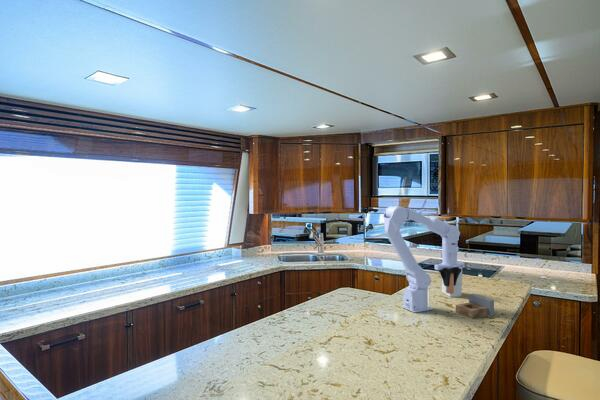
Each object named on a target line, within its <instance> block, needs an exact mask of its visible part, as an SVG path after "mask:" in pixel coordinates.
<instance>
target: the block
mask: <svg viewBox="0 0 600 400" xmlns="http://www.w3.org/2000/svg"><path fill="white" fill-rule="evenodd" d="M455 313H457V314H458V315H462V316H464V317H467V318H470V319H477V318H482V317H489V316H488V308H486V307H483V306H480V305H477V304H474V303H471V302H470V303H469V302H466V303H465V302H464V303H459V304H455Z"/></svg>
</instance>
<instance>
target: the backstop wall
mask: <svg viewBox="0 0 600 400" xmlns="http://www.w3.org/2000/svg"><path fill="white" fill-rule="evenodd" d="M470 302H471V303H474V304H477V305H480V306H483V307H486V308H488V316H487V317H494V316H495V301H494V299H491V298H488V297H485V296H481V295H477V294H476V293H470V294H468V303H470Z"/></svg>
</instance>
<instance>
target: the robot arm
mask: <svg viewBox="0 0 600 400" xmlns="http://www.w3.org/2000/svg"><path fill="white" fill-rule="evenodd" d="M382 218H383V224H384V233H385V235H386V237H387V238H388V241H389V242H390V244H391V246H392V247H393V249H394V251H395V252H396V254H397V256H398V258H399V259H400V262H401V263H402V265H403V267H404V273H405V275H406V277H405V278H406V280H407V281H408V287H406V288H405V289H404V290H403V291H402V306H401V307H402V308H403V309H405V310H407V311H410V312H412V313H419V312H426V311H431V310H433V308H432V307H430V306H428V305H429V304H428V303H429V302H428V301H429V300H428V299H429V297H428V291H429V289H428V288H429V286H430V285H431V282H432V279H431V276H430V275H429V274H428V273H426V272H425V270H424V269H423V267H422V266H420V264H419V263H418V262H417V261H416V258H415V257H414V255H413V254H412V251H411V250H410V248H409V245H408V244H407V243H406V241H405V239H404V238H403V235H402V234H401V232H400V230H401V228H402V226H403V225H404V223H405V222H406V221H413V222H416V223H419V224H421V225H424V226H425V228H426V229H427V231H430V232H433V233H435V234H437V235H439V236H440V237H441V239H442V240H441V241H442V243H441V247H442V248H441V250H442V253H441V254H442V256H441V257H442V262H441V263H437V264H434V270H435V271H438V273H439V274H440V277H441V280H442V279H443V283H444V286H447V287H449V283H450V275H451V273H453V274H454V286H455V285H456V282H457V278H458V276H459V274H460V272H461V269H460V268H459V267H462V268H465V266H466V265H465V262H462V261H458V238H459V237H460V236H461V235H460V234H461V232H460V231H459V230H460V229H459V228H458V226H456V225H455V224H454V225H453V224H450V222H448V221H443V220H442V219H440V217H438V216H433V217H432V216H431V217H428V216H425V215H423V214H421V213H419V212H417V211H415V210H413V209H411V208H406V207H404V206H394V205H389V206H387V207H386V208H385V210H384V212H383V215H382Z"/></svg>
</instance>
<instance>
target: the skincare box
mask: <svg viewBox="0 0 600 400" xmlns="http://www.w3.org/2000/svg"><path fill="white" fill-rule="evenodd" d="M459 268H460V269H461V272H460V274H459V276H458V278H457V282H456V285H455V286H454V293H453V294H450V293H446V286H444V283H443V279H442V278H441V293H443V294H445V295H447V296H448V297H450V298H453V297H454V298H457V297H458V298H459V297H462V293H463V292H462V290H463V289H462V287H463V267H459Z"/></svg>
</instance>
